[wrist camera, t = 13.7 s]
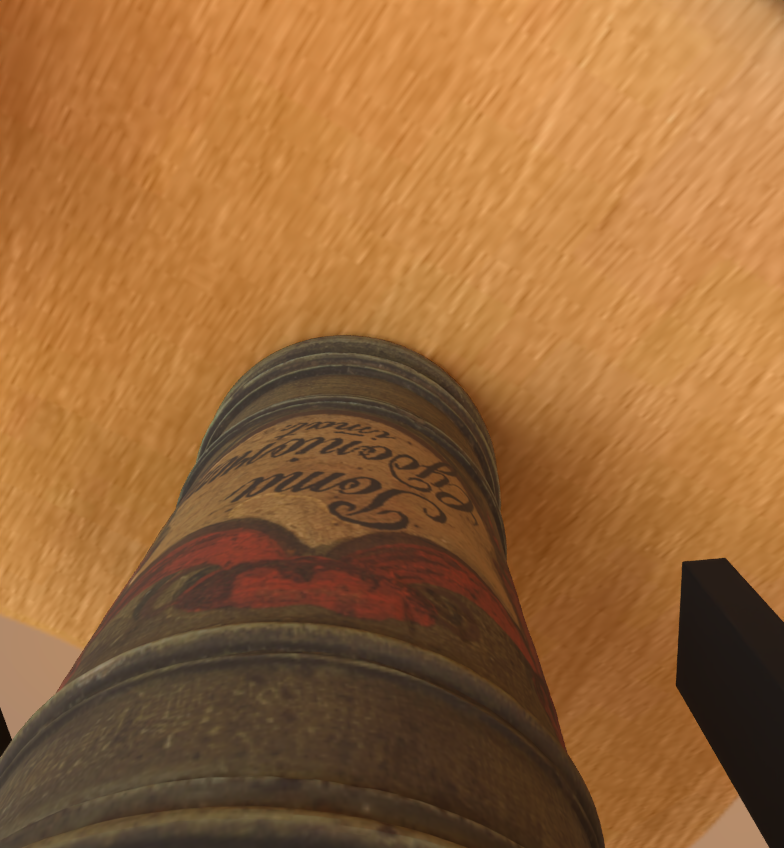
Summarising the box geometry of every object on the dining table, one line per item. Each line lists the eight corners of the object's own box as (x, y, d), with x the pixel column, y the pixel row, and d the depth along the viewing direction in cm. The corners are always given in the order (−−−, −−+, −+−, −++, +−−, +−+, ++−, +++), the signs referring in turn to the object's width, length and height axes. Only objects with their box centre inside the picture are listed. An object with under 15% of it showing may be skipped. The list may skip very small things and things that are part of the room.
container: (497, 582, 23) (820, 1721, 6) (234, 601, 23) (-200, 1763, 6) (488, 319, 20) (1086, 1057, 3) (187, 342, 20) (-918, 1174, 3)
